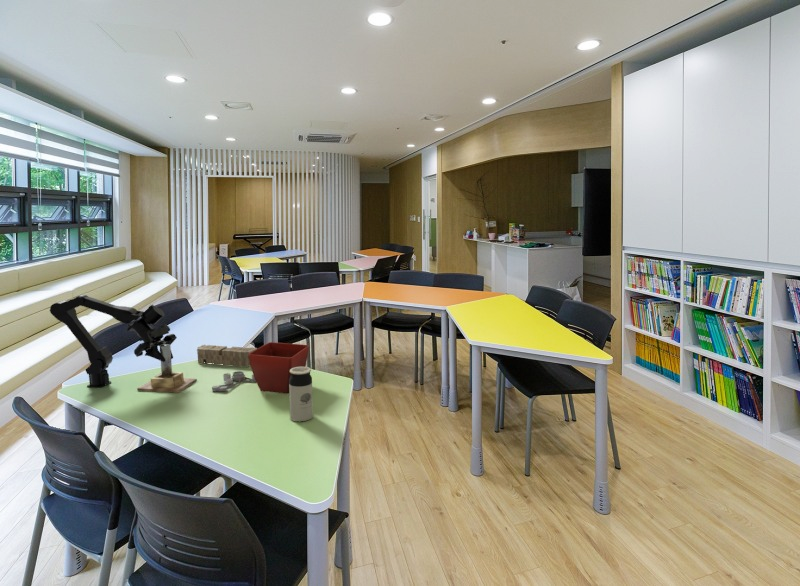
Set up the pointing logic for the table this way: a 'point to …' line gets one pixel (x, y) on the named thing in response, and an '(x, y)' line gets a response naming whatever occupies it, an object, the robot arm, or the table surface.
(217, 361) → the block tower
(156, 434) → the table surface
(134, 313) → the robot arm
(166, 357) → the metal pin
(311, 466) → the table surface
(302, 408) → the travel mug
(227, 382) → the pulley system
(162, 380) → the socket board
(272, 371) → the plant pot
